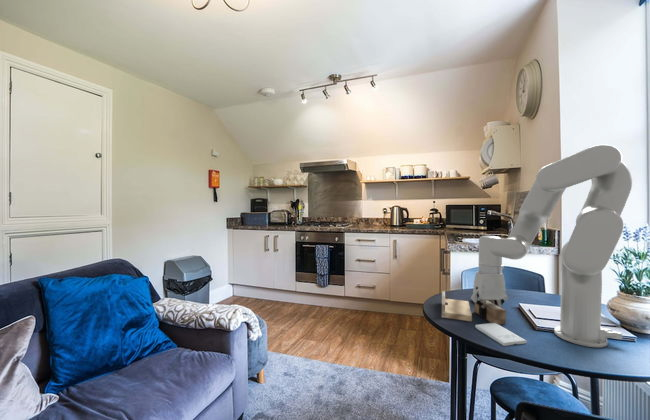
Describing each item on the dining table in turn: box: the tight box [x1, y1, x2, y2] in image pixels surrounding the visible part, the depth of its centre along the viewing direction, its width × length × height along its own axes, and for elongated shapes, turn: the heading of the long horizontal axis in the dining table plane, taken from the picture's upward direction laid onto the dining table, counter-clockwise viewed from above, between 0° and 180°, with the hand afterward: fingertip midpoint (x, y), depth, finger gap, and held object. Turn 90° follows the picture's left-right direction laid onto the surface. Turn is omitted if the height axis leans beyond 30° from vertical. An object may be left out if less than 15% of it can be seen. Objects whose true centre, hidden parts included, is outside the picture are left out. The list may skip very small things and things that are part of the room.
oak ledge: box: [441, 290, 473, 322], centre depth 111 cm, size 10×16×5 cm, turn 157°
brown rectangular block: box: [474, 298, 507, 325], centre depth 105 cm, size 4×11×5 cm, turn 6°
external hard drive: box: [475, 322, 528, 347], centre depth 92 cm, size 2×8×12 cm
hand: (489, 316), depth 105 cm, fingers closed on brown rectangular block, 4 cm apart
